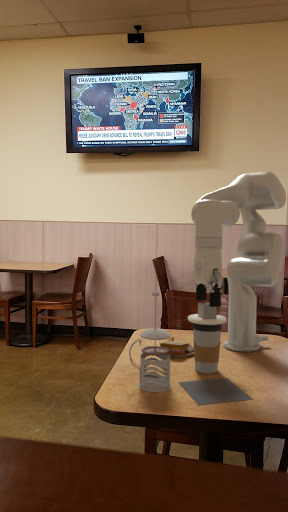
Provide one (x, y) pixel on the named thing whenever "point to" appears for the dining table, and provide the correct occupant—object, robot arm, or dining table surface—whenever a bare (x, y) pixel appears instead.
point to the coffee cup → (206, 347)
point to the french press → (153, 379)
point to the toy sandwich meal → (178, 348)
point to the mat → (214, 391)
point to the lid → (207, 315)
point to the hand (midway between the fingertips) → (207, 303)
